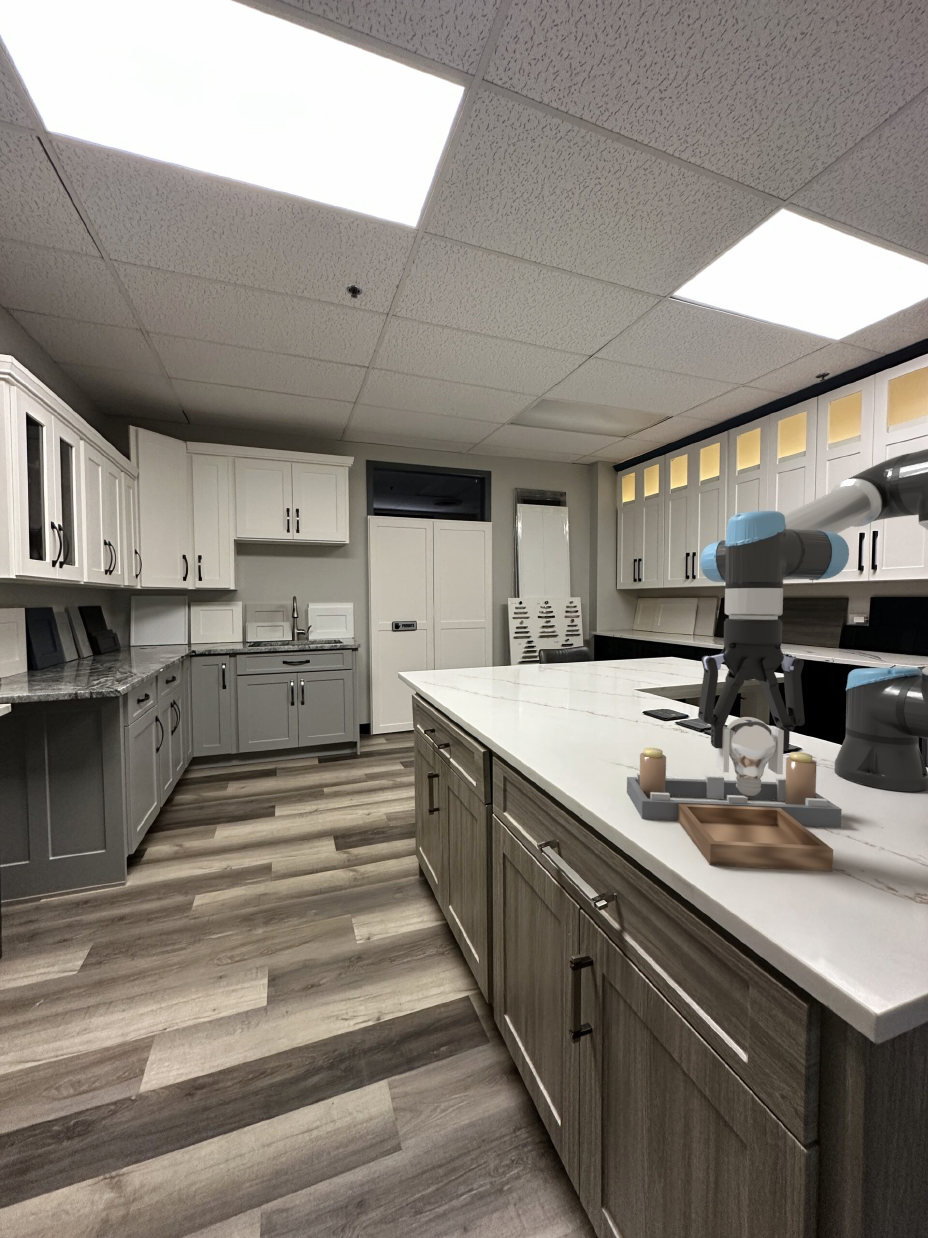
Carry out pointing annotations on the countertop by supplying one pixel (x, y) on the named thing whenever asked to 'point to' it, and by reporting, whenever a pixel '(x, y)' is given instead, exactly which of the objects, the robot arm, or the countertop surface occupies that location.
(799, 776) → the cylinder
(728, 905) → the countertop surface
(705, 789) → the holder
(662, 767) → the cylinder
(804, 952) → the countertop surface
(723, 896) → the countertop surface
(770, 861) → the tray
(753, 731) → the light bulb
